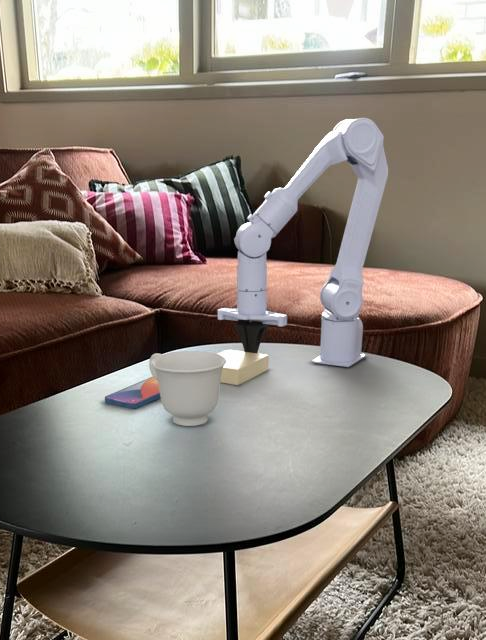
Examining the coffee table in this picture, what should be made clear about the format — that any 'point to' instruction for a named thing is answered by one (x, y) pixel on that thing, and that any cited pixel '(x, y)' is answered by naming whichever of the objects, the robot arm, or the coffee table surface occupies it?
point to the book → (242, 366)
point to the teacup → (188, 384)
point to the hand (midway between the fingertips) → (251, 358)
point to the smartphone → (135, 394)
